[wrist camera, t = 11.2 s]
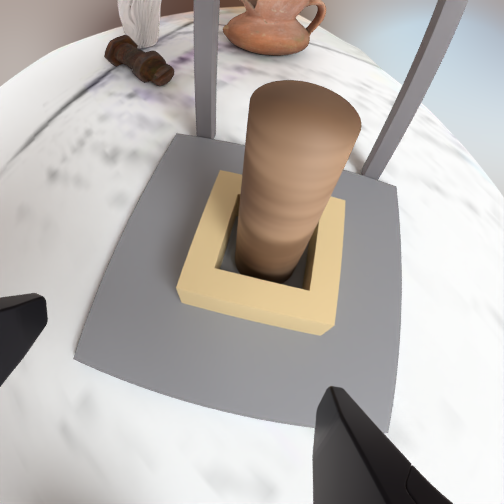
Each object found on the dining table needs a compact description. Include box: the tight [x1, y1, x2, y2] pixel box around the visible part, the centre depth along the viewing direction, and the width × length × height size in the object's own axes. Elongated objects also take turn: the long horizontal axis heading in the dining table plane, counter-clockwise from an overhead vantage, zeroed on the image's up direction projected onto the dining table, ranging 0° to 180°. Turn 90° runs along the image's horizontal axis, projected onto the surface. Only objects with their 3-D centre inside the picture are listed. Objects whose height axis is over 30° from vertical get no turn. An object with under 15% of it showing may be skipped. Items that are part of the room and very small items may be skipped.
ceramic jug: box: [223, 0, 326, 55], centre depth 38 cm, size 18×14×14 cm
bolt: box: [104, 35, 174, 86], centre depth 36 cm, size 6×5×15 cm
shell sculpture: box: [118, 0, 162, 49], centre depth 35 cm, size 8×8×18 cm
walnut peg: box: [235, 80, 361, 284], centre depth 18 cm, size 5×5×14 cm
